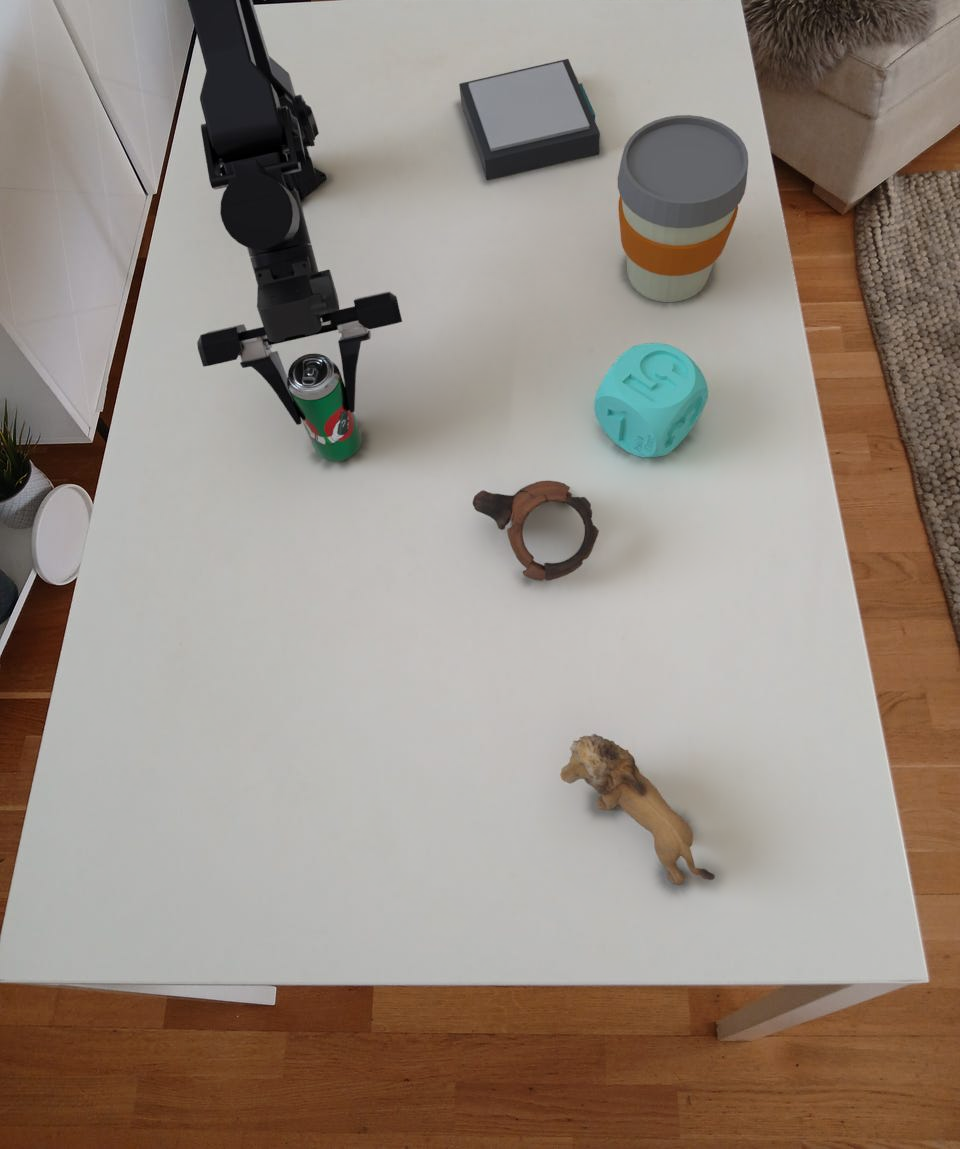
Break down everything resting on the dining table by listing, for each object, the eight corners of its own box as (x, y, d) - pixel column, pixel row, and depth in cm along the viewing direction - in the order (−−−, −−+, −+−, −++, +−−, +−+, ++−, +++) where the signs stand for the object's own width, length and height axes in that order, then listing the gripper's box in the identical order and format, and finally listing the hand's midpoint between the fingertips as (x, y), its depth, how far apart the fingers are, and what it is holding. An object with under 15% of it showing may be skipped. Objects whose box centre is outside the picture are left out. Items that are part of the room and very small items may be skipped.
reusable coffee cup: (748, 264, 101) (778, 149, 87) (678, 334, 97) (697, 226, 84) (658, 212, 105) (673, 95, 91) (588, 277, 102) (592, 166, 88)
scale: (486, 180, 109) (484, 156, 106) (461, 104, 115) (458, 79, 112) (604, 153, 110) (605, 128, 107) (572, 79, 116) (573, 53, 113)
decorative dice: (591, 428, 93) (594, 379, 86) (640, 379, 95) (647, 328, 88) (653, 471, 90) (661, 425, 83) (703, 419, 92) (715, 370, 85)
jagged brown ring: (597, 495, 90) (614, 494, 82) (572, 587, 91) (587, 595, 83) (480, 463, 89) (486, 459, 81) (456, 556, 90) (459, 562, 82)
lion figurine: (551, 788, 78) (550, 763, 70) (589, 740, 79) (592, 710, 71) (695, 904, 73) (712, 892, 65) (732, 851, 74) (753, 833, 66)
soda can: (366, 424, 95) (341, 350, 85) (358, 465, 93) (332, 395, 83) (319, 422, 96) (289, 349, 85) (311, 463, 94) (278, 393, 83)
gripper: (159, 274, 75) (216, 456, 80) (379, 225, 76) (422, 409, 81) (187, 273, 86) (236, 434, 91) (380, 230, 86) (418, 392, 91)
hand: (325, 418), depth 88 cm, fingers closed on soda can, 5 cm apart
